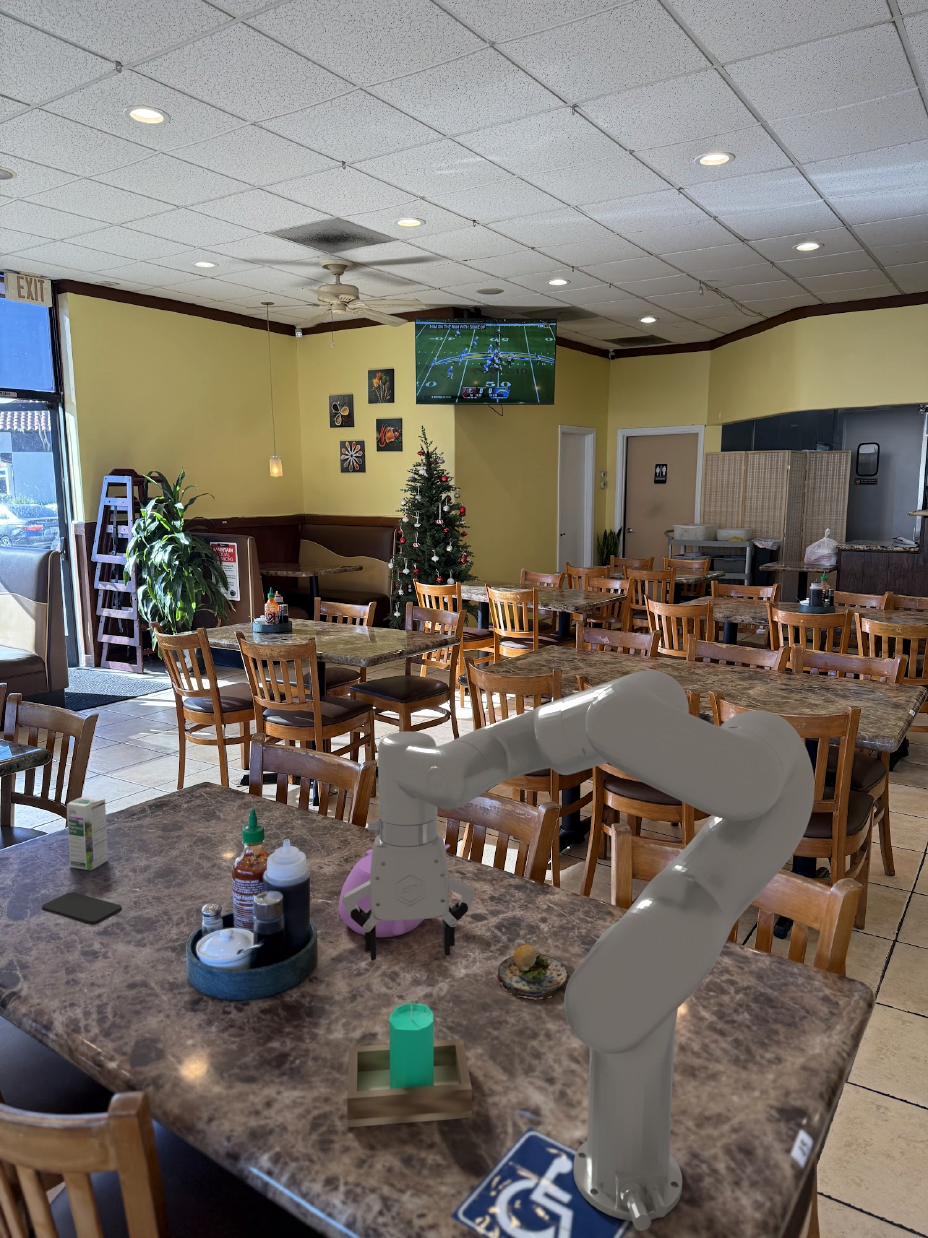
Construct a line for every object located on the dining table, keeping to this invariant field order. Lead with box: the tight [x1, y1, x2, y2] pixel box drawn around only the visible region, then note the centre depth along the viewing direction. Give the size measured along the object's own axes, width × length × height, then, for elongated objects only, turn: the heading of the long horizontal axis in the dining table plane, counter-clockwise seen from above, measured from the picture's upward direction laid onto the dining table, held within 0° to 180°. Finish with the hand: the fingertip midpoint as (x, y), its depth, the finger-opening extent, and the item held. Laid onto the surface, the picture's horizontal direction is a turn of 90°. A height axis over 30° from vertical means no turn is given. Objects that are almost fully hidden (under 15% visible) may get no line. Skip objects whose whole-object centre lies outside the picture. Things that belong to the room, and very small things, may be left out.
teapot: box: [338, 844, 451, 938], centre depth 162 cm, size 22×22×14 cm
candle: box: [389, 1003, 434, 1089], centre depth 114 cm, size 6×6×12 cm
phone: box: [41, 891, 123, 925], centre depth 167 cm, size 7×1×15 cm
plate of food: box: [496, 940, 569, 999], centre depth 142 cm, size 12×12×8 cm
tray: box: [346, 1038, 473, 1128], centre depth 115 cm, size 16×11×4 cm
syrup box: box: [66, 796, 109, 872], centre depth 186 cm, size 6×6×14 cm
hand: (410, 953), depth 112 cm, fingers open, 9 cm apart
